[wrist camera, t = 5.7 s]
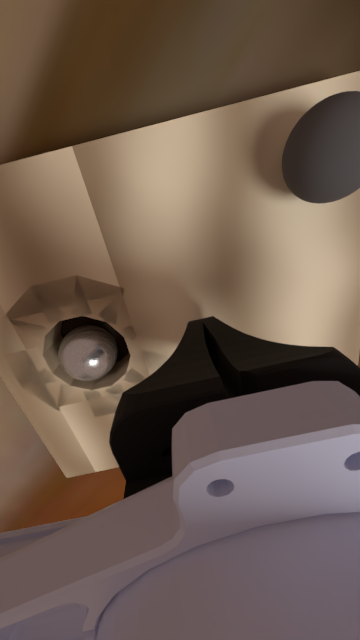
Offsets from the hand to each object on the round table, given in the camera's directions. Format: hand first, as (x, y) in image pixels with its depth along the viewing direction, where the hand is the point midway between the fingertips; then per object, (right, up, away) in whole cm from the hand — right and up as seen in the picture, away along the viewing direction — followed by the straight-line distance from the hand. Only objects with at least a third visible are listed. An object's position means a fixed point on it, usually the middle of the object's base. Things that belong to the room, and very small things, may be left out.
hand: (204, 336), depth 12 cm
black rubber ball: (+4, +7, -3) cm, 9 cm away
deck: (-2, +1, +3) cm, 4 cm away
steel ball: (-7, -1, +2) cm, 7 cm away
